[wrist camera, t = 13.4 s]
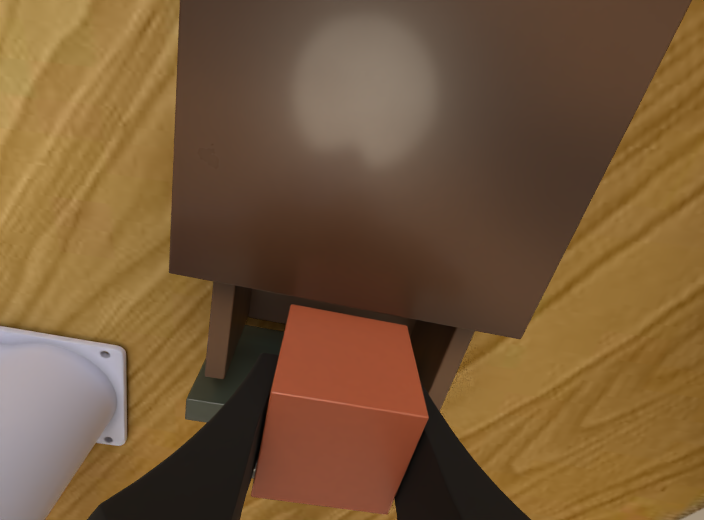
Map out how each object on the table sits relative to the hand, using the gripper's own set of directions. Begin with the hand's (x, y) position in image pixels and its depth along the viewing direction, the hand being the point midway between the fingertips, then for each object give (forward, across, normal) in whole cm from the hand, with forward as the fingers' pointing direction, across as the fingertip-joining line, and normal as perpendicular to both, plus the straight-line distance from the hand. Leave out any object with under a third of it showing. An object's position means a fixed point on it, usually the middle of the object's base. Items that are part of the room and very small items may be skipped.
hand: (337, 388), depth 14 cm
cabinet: (+9, 0, -10) cm, 13 cm away
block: (+1, 0, 0) cm, 1 cm away
